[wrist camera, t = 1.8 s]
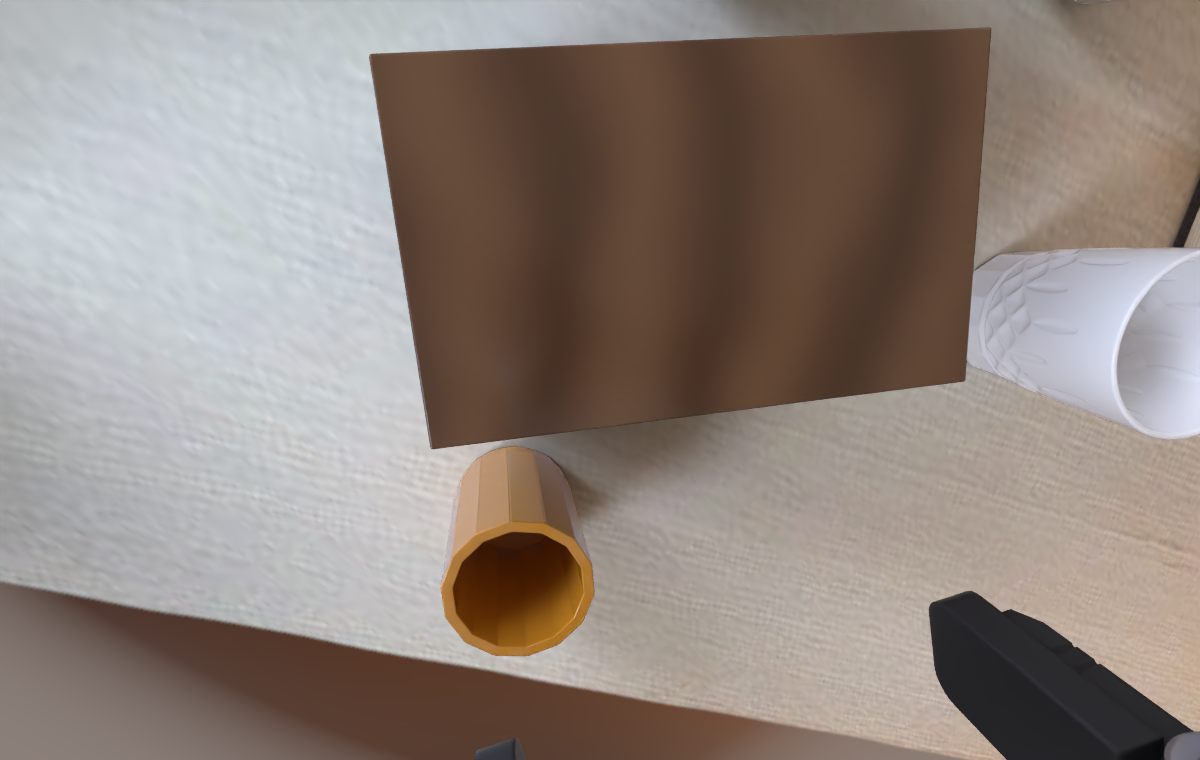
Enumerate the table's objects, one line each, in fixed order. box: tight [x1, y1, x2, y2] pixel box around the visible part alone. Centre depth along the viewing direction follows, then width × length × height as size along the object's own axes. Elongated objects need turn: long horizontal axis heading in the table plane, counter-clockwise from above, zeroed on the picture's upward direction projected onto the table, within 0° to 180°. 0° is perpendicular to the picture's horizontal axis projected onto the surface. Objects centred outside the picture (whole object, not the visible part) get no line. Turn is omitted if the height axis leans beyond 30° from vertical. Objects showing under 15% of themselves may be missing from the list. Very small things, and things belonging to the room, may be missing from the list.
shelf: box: [369, 27, 991, 449], centre depth 25 cm, size 18×11×12 cm, turn 95°
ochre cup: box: [441, 447, 594, 656], centre depth 29 cm, size 6×6×8 cm
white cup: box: [967, 247, 1200, 440], centre depth 30 cm, size 8×8×10 cm
